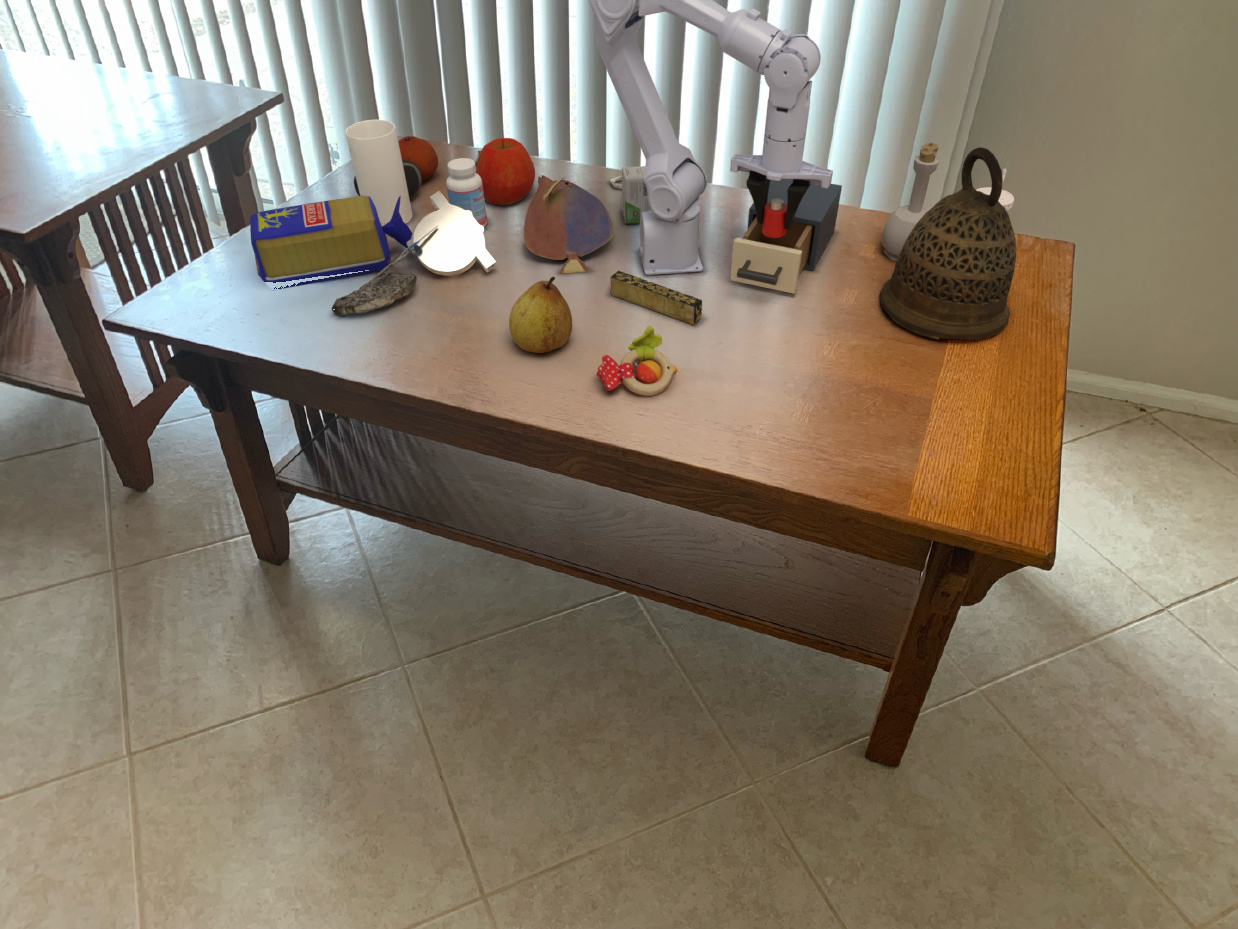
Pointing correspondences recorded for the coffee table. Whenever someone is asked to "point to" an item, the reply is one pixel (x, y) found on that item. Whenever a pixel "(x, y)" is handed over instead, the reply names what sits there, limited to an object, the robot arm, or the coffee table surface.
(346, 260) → the bread
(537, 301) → the fruit
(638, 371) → the bird rattle
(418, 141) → the fruit
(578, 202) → the fish
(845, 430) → the coffee table surface
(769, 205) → the red cylinder
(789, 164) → the robot arm
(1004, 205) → the smoothie
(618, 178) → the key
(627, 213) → the ink box
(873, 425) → the coffee table surface
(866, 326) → the coffee table surface
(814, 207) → the cabinet
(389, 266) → the scissors
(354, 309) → the stone
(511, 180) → the apple
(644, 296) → the decorative block
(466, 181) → the pill bottle
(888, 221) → the potion bottle
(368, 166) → the cup
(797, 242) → the drawer
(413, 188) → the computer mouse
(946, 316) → the bell
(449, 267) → the tabbed white plastic disc
